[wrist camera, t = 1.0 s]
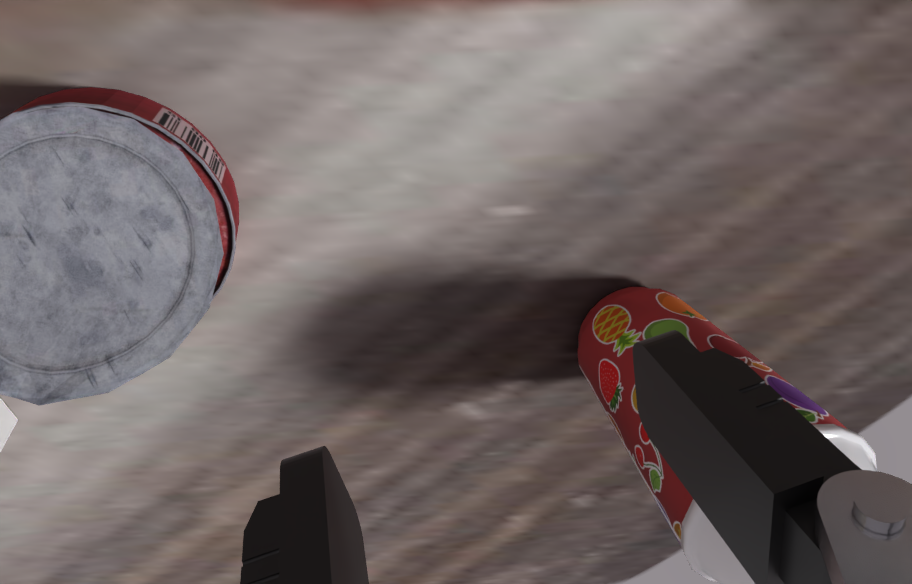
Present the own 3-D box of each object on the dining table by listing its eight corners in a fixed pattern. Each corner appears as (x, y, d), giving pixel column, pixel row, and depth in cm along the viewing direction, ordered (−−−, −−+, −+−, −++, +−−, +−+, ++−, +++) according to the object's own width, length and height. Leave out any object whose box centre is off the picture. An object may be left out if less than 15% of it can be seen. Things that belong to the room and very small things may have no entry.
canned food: (35, 207, 30) (-213, 247, 21) (141, 41, 27) (-97, 0, 18) (207, 369, 31) (40, 480, 21) (331, 225, 28) (198, 281, 18)
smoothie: (583, 408, 39) (815, 774, 22) (533, 313, 34) (774, 679, 17) (703, 341, 38) (1034, 661, 21) (667, 236, 34) (1048, 535, 17)
